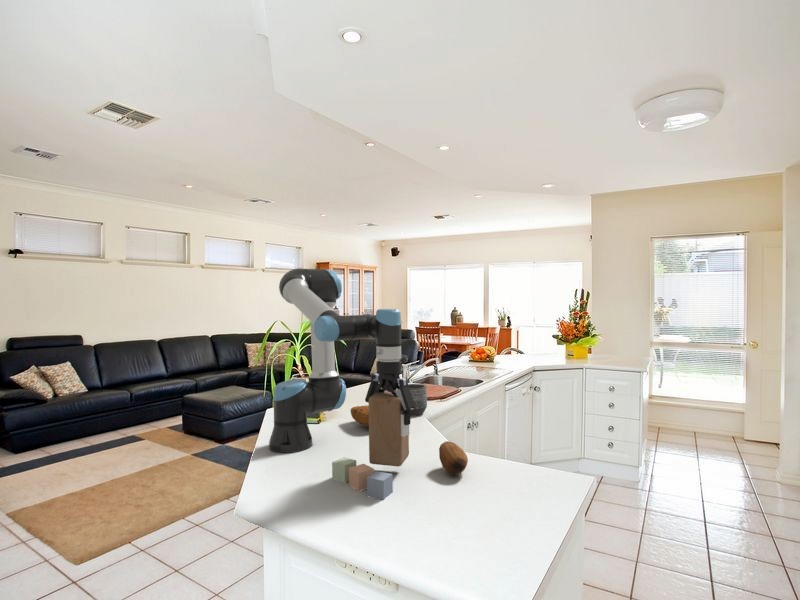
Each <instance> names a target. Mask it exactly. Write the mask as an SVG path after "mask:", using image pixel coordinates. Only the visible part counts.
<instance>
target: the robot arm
mask: <svg viewBox="0 0 800 600" xmlns="http://www.w3.org/2000/svg"><path fill="white" fill-rule="evenodd" d="M278 285H279V286H278V288H279V289H278V290H279V294H280V296H281V297H282V298H283V300H285V301H286V302H287V303H288V304H291V305H293V306H295V308H297V309H298V310H299V311H300V313H302V314H303V315H304V316H305V317H306V318H307V319H308V320H309V321H310V342H311V343H310V344H311V369H312V370H311V371H312V372H311V373H310V374H309V375H308V381H307V380H306V379H304V378H297V379H288V380H285V381H282V382H279V383H277V384H276V385H275V386H274V389H273V396H272V399H273V428H272V431H271V435H270V439H269V442H268V443H269V444H268V445H269V446H268V449H269V450H270V451H271V452H276V453H281V454H282V453H283V454H284V453H285V454H286V453H296V452H302V451H304V450H306V449H310V447H312V446H313V437H312V434H311V430H310V428H309V425H308V415H312V414H317V413H323V412H332V411H334V410H338V409H341V407H342V406H343V404H344V403H345V400H346V397H347V386H346V383H345V382H346V381H344V380H343V378H340V374H339V372H337V370H336V362H335V361H336V359H335V358H336V357H335V342H337V341H348V340H364V339H365V340H366V339H371V340H375V341H376V359H377V361H376V363H375V364H376V373H372V374H371V378H370V383H369V386H368V390H367V392H366V395H365V400H364V401H365V402H366V403H368V404H369V397H371V396H372V395H374V394H375V393H380V392H384V391H388V392H391V393H392V394H393V395H394V396H395V397H399V398H401V400H402V401H401V410H402V413H401V436H402V437H404V436H407V435H410V424H411V416H410V414H411V412H415V411H416V408H415V405H414V402H413V399H412V396H411V393H410V390H409V387H408V384H409V379H408V378H407V377H405V378H401V377H400V374H402V361H401V359H402V316H401V315H402V314H401V311H400V309H398V308H378V309H377V310H376V312H375V314H370V313H367V314H366V313H365V314H364V313H363V314H355V315H354V314H353V315H351V314H350V315H348V314H347V315H340V314H339V313H337V312H336V311H335V310H334V307H335V306H336V305H337V300H338V299H340V297H341V296H342V292H343V284H342V282H341V277H340V276H339V275H338V273H337V272H336V271H335V270H333V269H325V268H324V269H323V268H294V269H291V270H289V271H287V272H286V273H284V274H283V275H282V277H281V279H280V281H279V283H278ZM313 346H314V347H313ZM405 408H406V409H405Z"/></svg>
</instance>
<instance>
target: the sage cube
mask: <svg viewBox="0 0 800 600" xmlns="http://www.w3.org/2000/svg"><path fill="white" fill-rule="evenodd" d="M354 466H357V460H356V459H353V458H349V457H345V456H344V457H343V456H342V457H341V458H339V459H336V460H334V461H331V468H332V469H331V471H332V472H331V474H332V475H331V476H332V478H331V479H332V480H334V479H335V480H334V481H337V480H338V481H337V482H341V483H344V482H345V483H347V482H349V468H350V467H354Z"/></svg>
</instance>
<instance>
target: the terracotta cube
mask: <svg viewBox="0 0 800 600" xmlns="http://www.w3.org/2000/svg"><path fill="white" fill-rule="evenodd" d="M374 469H375V468H374V467H371V466H369V465H368V464H365V463H362V464H356V466H354V467H350V468H349V481H348V485H350V487H351V486H352V487H351V488H353V489H354V488H355V490H357V492H359V491H360V490H361V491H363V489H364V490H367V489H366V488H367V477H369V476H370V475H372V474H373V473H374V472H375V471H374Z"/></svg>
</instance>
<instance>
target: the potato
mask: <svg viewBox="0 0 800 600" xmlns="http://www.w3.org/2000/svg"><path fill="white" fill-rule="evenodd" d="M438 454H439V455H438V456H439V461H440V463H441V466H442V468H443V469H444V471H445V472H446V473H448V474H449V475H454V476H457V475H458V474H461V473H462V472H464V471H465V469H466V468H467V466H468V462H469V459H468V455H467V453H466V452H465V451H464V450H463V449H462V447H460V446H459V445H457V444H456V443H455V442H452V441H444V442H443V443H441V444H440V446H439V448H438Z"/></svg>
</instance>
